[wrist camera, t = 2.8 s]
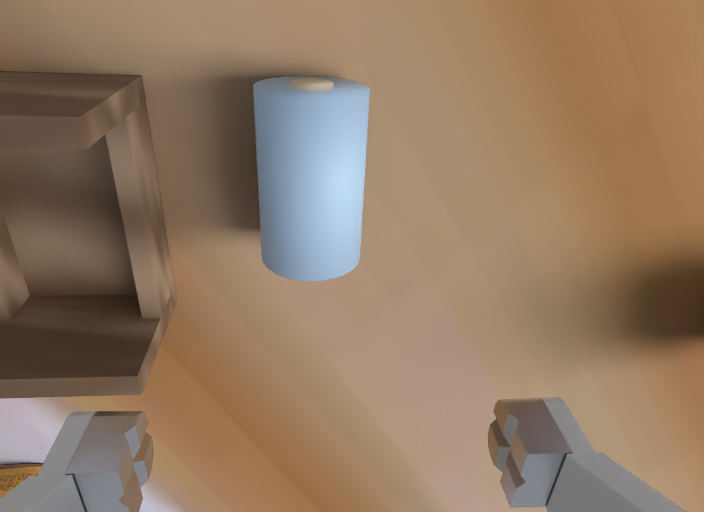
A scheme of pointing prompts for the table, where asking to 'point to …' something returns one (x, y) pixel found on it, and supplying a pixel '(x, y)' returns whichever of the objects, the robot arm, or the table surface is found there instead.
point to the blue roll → (311, 173)
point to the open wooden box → (79, 237)
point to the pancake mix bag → (15, 475)
